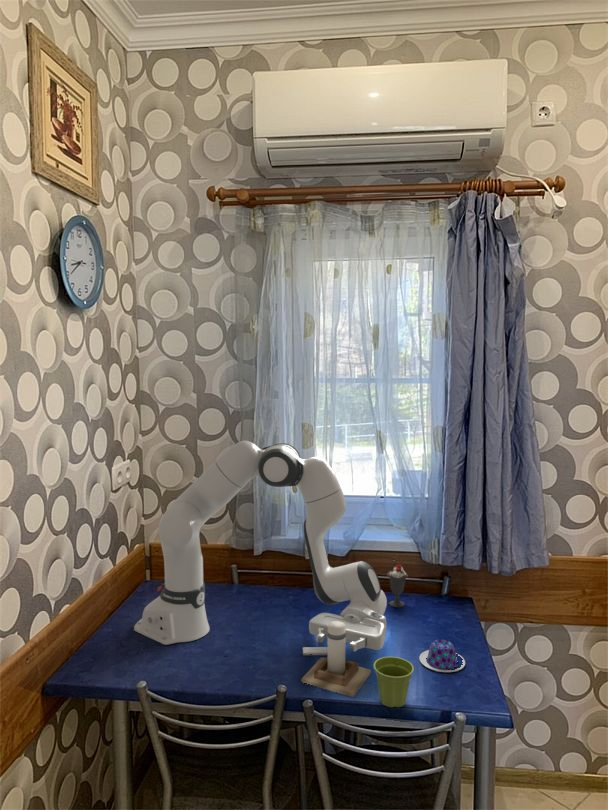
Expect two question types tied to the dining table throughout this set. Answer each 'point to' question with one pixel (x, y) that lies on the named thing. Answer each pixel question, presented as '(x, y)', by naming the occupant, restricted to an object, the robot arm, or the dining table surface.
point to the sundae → (397, 584)
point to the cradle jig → (337, 677)
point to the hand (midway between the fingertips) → (335, 643)
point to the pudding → (441, 656)
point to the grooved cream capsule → (336, 647)
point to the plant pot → (393, 680)
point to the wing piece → (315, 650)
